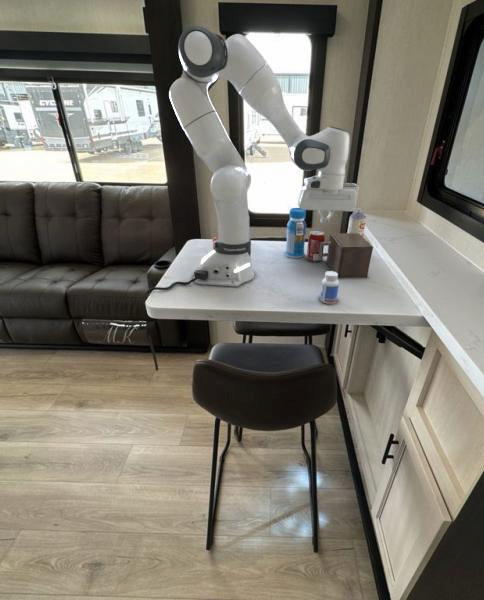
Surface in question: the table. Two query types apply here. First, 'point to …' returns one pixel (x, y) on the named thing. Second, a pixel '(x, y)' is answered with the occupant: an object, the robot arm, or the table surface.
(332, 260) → the cupboard door
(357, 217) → the aerosol can
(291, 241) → the beverage bottle
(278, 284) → the table surface
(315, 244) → the soda can
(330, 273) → the pill bottle
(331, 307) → the table surface
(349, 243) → the cupboard
